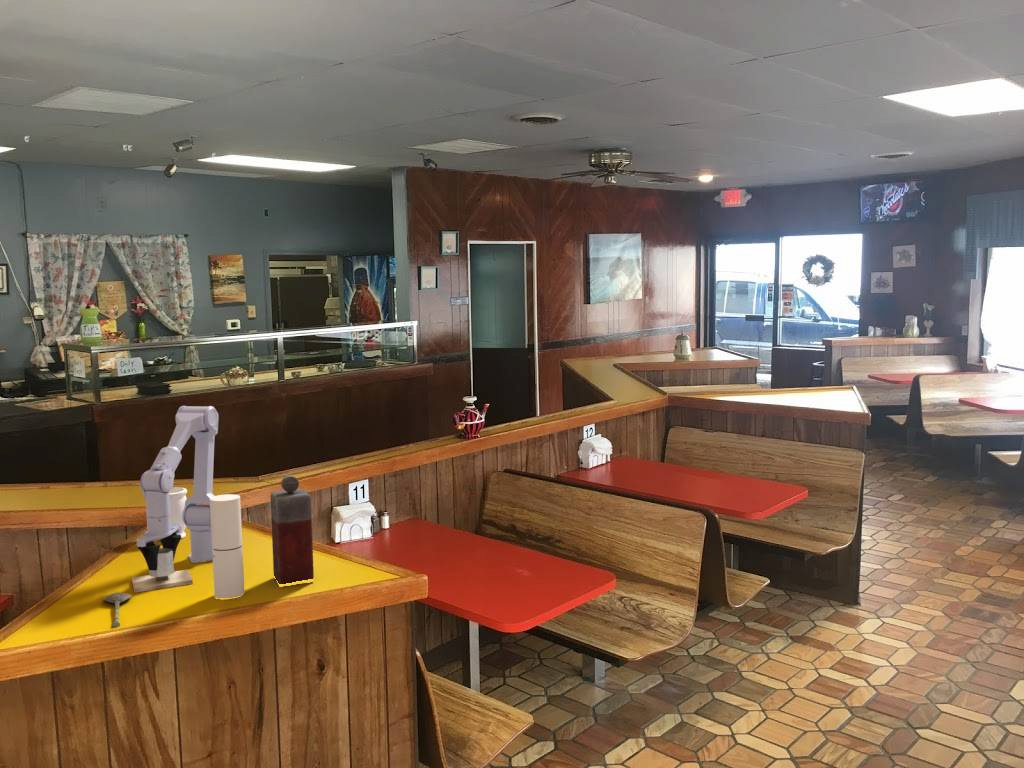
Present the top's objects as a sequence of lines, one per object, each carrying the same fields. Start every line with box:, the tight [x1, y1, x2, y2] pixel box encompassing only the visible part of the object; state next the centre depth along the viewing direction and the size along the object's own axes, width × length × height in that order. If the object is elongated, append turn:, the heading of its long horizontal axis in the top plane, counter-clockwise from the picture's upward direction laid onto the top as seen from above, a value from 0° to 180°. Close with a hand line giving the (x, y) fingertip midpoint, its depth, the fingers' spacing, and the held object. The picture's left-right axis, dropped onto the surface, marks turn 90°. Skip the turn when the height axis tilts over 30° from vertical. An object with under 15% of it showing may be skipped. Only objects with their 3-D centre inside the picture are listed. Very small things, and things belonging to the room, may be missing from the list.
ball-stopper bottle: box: [270, 474, 315, 584], centre depth 227 cm, size 9×11×28 cm
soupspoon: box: [102, 592, 132, 628], centre depth 207 cm, size 22×3×7 cm
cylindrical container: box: [210, 493, 245, 598], centre depth 215 cm, size 7×7×25 cm
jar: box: [169, 486, 188, 540], centre depth 269 cm, size 11×10×15 cm
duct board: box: [131, 569, 194, 593], centre depth 227 cm, size 14×10×5 cm
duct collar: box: [148, 547, 175, 577], centre depth 226 cm, size 6×6×6 cm
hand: (161, 566), depth 227 cm, fingers closed on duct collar, 6 cm apart
